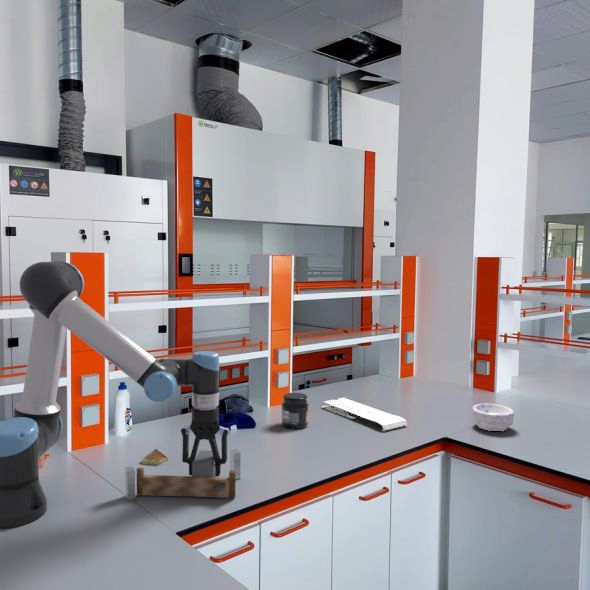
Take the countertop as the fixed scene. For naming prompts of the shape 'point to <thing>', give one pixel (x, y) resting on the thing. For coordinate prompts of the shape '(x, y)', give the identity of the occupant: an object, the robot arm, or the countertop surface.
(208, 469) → the rubber block
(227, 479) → the gate
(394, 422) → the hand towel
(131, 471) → the grey blocks
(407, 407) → the countertop surface
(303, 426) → the supplement container
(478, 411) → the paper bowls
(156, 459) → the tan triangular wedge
